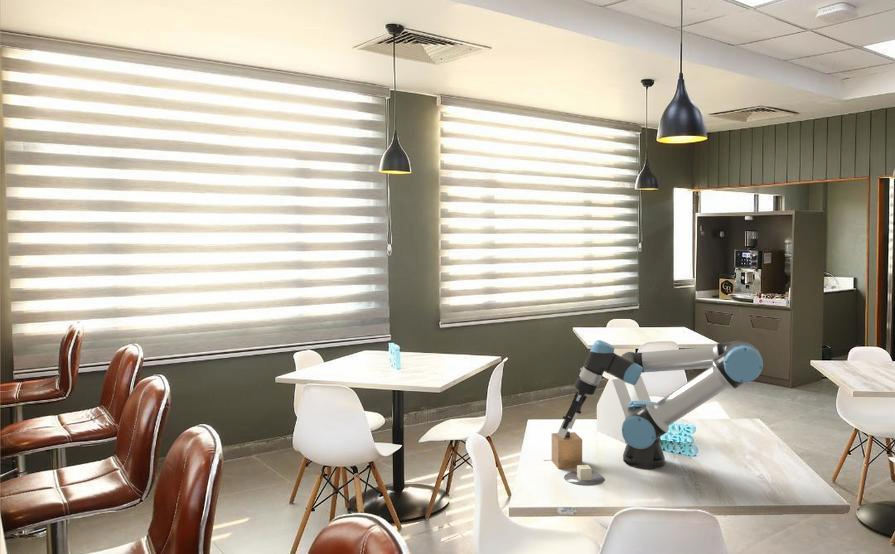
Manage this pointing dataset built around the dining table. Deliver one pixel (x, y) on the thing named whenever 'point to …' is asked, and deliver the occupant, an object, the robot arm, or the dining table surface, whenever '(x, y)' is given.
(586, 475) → the cake cube
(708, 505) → the dining table surface
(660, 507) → the dining table surface
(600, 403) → the milk carton
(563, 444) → the wooden cube with knob
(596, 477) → the plate
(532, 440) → the dining table surface
